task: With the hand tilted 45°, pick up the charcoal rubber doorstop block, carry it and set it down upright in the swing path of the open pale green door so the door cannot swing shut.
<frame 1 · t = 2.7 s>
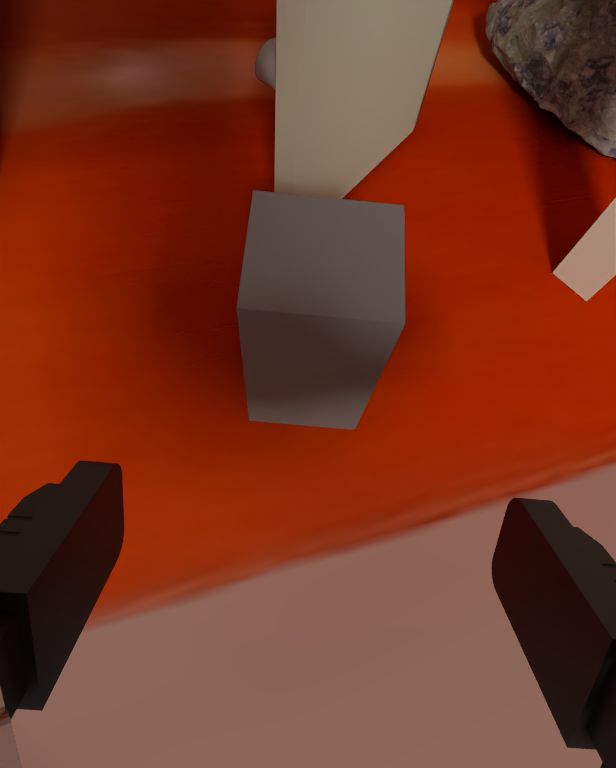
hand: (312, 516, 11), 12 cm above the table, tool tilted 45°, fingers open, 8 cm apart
door frame: (479, 185, 31), on the table
mineral rock: (570, 100, 35), on the table
door: (369, 16, 23), point 9 cm above the table, hinge at -80.0°
doorstop block: (305, 381, 25), on the table
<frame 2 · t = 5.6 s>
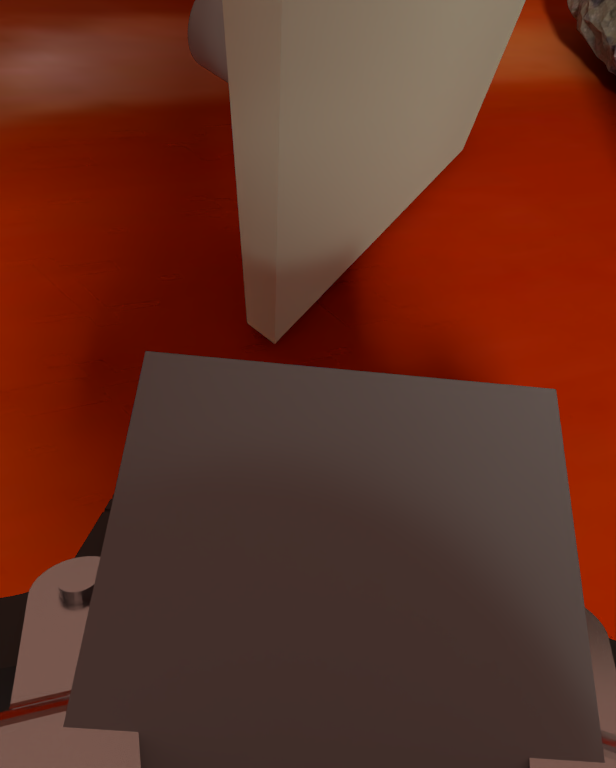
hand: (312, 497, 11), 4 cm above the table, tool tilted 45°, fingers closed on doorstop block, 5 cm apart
doorstop block: (297, 592, 15), on the table, touching gripper
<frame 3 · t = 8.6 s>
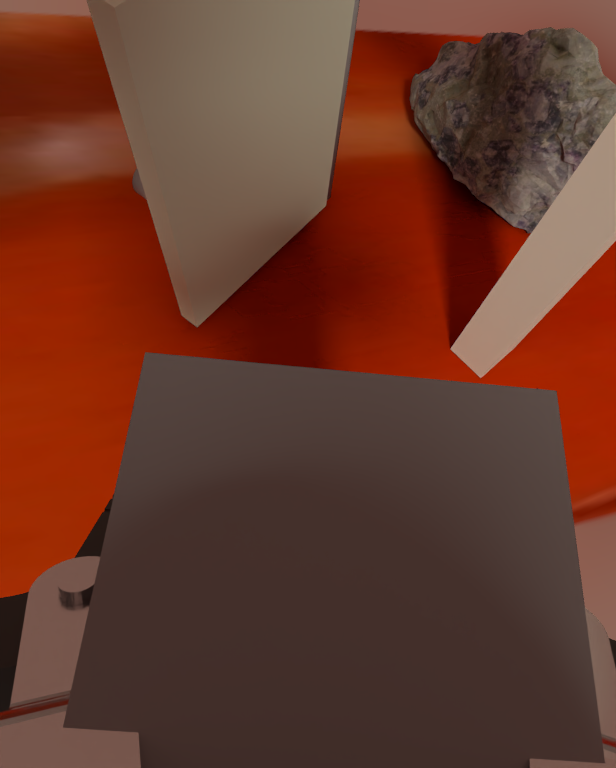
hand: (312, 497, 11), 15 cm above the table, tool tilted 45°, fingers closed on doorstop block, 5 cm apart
door frame: (387, 260, 33), on the table
mineral rock: (490, 168, 37), on the table
door: (250, 127, 24), point 9 cm above the table, hinge at -80.0°
doorstop block: (297, 593, 15), point 11 cm above the table, touching gripper
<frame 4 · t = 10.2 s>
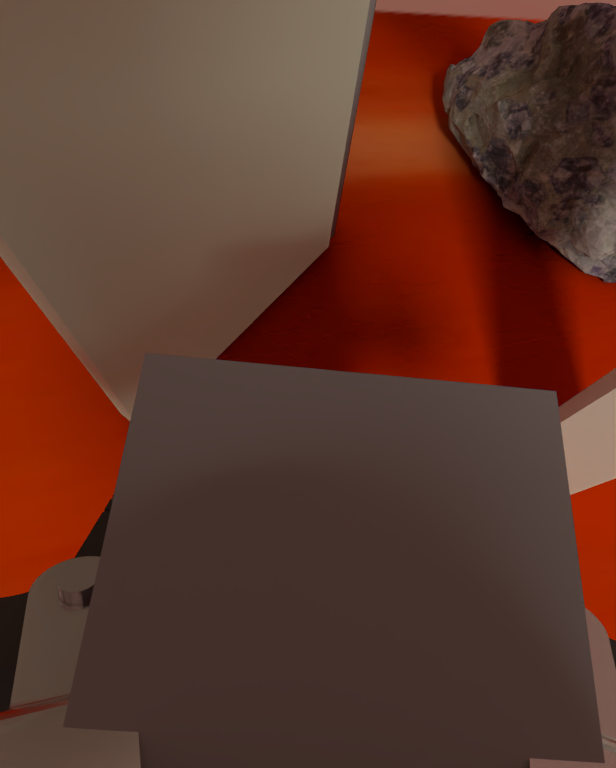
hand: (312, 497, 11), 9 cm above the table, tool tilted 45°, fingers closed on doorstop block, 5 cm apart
door frame: (413, 323, 23), on the table
mineral rock: (548, 190, 28), on the table
door: (208, 147, 15), point 9 cm above the table, hinge at -80.0°
doorstop block: (297, 593, 15), point 4 cm above the table, touching gripper
when the fingers open (6 cm above the table, at t = 11.7 s): doorstop block drops 1 cm, on the table.
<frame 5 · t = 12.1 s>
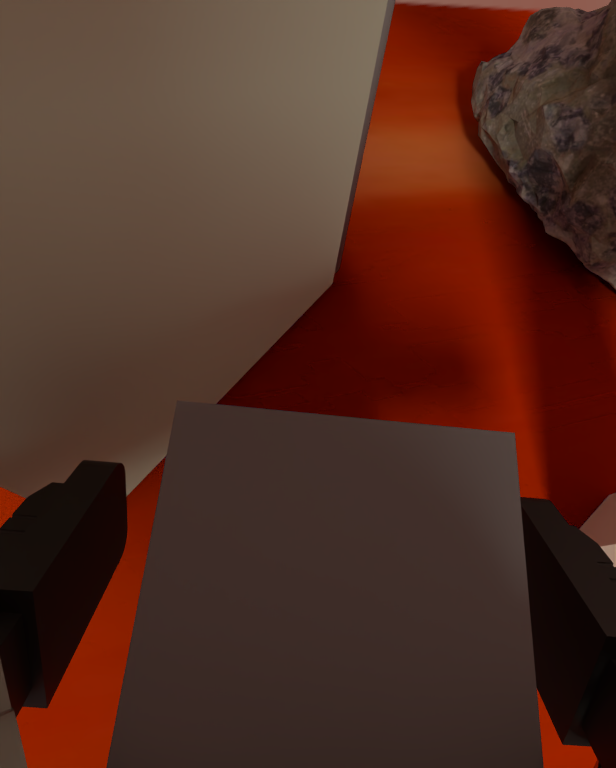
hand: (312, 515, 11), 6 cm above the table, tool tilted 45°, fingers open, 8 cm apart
door frame: (437, 379, 19), on the table
mineral rock: (595, 211, 23), on the table
door: (164, 175, 10), point 9 cm above the table, hinge at -80.0°
doorstop block: (298, 596, 16), on the table
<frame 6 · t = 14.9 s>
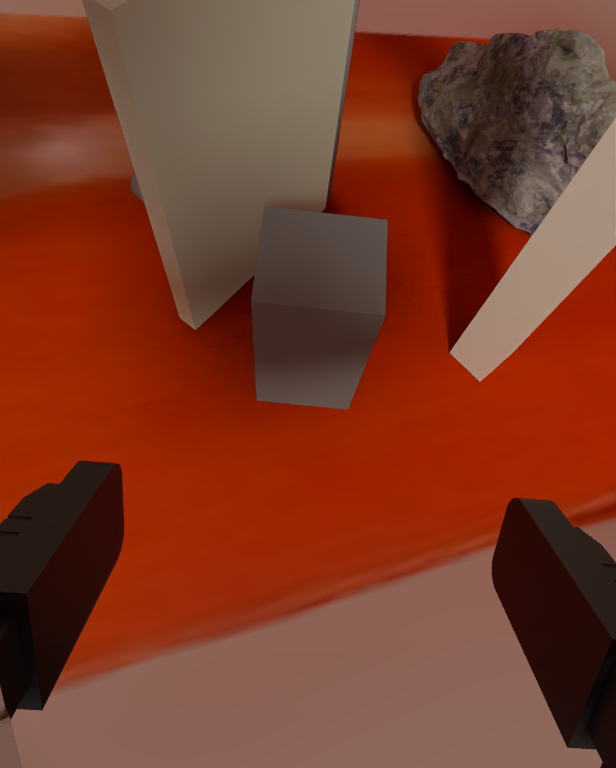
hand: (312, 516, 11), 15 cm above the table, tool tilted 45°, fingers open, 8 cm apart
door frame: (386, 263, 32), on the table
mineral rock: (496, 169, 37), on the table
door: (248, 130, 24), point 9 cm above the table, hinge at -80.0°
doorstop block: (305, 367, 29), on the table
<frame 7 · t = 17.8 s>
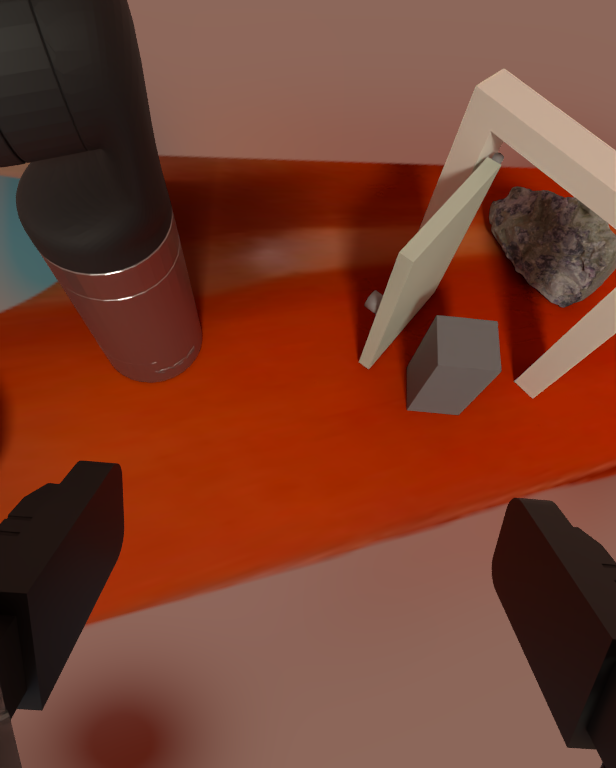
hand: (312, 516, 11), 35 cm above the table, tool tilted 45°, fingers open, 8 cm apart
door frame: (473, 326, 54), on the table
mineral rock: (537, 261, 58), on the table
door: (417, 268, 45), point 9 cm above the table, hinge at -80.0°
doorstop block: (432, 390, 50), on the table
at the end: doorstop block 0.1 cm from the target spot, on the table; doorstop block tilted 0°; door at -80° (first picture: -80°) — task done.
